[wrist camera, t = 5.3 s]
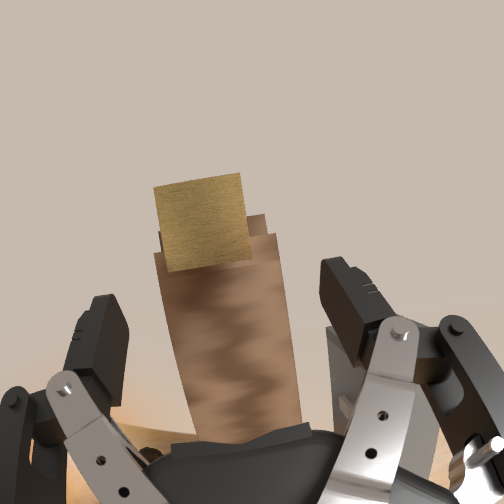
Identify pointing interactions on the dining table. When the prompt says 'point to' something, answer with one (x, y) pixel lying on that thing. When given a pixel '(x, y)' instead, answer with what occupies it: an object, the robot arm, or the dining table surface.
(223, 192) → the rod
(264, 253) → the brown tall rectangular frame
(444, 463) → the dining table surface
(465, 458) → the robot arm
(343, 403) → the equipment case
